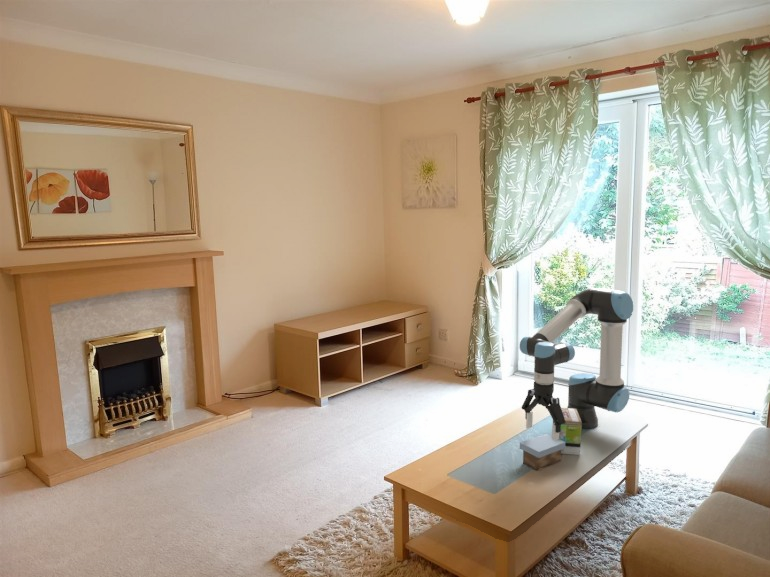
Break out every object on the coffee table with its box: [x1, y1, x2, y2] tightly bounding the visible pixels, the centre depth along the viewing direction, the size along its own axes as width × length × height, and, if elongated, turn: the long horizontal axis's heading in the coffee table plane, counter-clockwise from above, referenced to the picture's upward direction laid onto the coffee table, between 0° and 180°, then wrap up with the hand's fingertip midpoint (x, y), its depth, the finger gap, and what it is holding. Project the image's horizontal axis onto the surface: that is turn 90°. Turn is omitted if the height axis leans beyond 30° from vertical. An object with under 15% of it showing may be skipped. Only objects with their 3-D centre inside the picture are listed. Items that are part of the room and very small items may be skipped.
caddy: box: [522, 450, 562, 471], centre depth 211 cm, size 14×7×6 cm, turn 122°
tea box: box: [551, 407, 583, 456], centre depth 224 cm, size 15×10×15 cm
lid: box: [519, 432, 565, 458], centre depth 211 cm, size 15×10×3 cm, turn 122°
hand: (542, 433), depth 210 cm, fingers open, 13 cm apart
